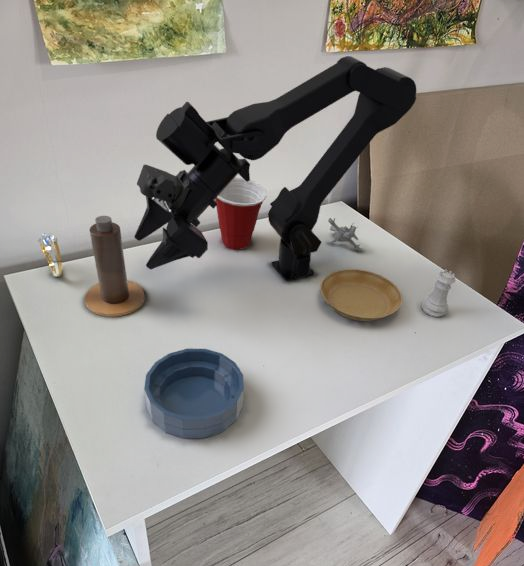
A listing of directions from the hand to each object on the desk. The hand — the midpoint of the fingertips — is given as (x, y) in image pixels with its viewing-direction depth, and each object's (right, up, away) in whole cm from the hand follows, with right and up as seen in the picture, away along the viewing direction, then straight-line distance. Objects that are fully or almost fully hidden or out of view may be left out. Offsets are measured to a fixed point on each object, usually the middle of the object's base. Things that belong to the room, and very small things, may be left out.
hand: (142, 252), depth 82 cm
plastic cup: (+15, +6, +21) cm, 26 cm away
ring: (-18, -3, +8) cm, 20 cm away
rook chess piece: (+51, -9, +9) cm, 53 cm away
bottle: (-5, -7, +4) cm, 9 cm away
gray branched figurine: (+36, +6, +24) cm, 44 cm away
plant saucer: (+38, -8, +8) cm, 39 cm away
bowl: (+11, -24, -12) cm, 29 cm away
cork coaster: (-6, -7, +4) cm, 10 cm away
